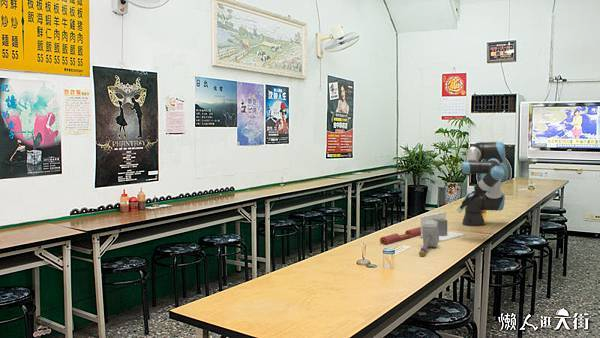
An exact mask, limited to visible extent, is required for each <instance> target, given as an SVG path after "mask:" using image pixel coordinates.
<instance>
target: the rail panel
mask: <svg viewBox="0 0 600 338" xmlns="http://www.w3.org/2000/svg"><path fill="white" fill-rule="evenodd" d="M446 214H447V213H446V211H440V212H436V213H431V214H426V215H422V216H420V227H421V235H420V239H423V230H422V226H423V224H424V222H425V221H426V220H435V219H440V218H443V219H444V220H447V219H446V218H447V217H446ZM464 236H466V233H459V232H453V231H448V230H447V235H446V236H439V242H441V243H442V242H446V241H449V240H453V239H456V238H460V237H464Z"/></svg>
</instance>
